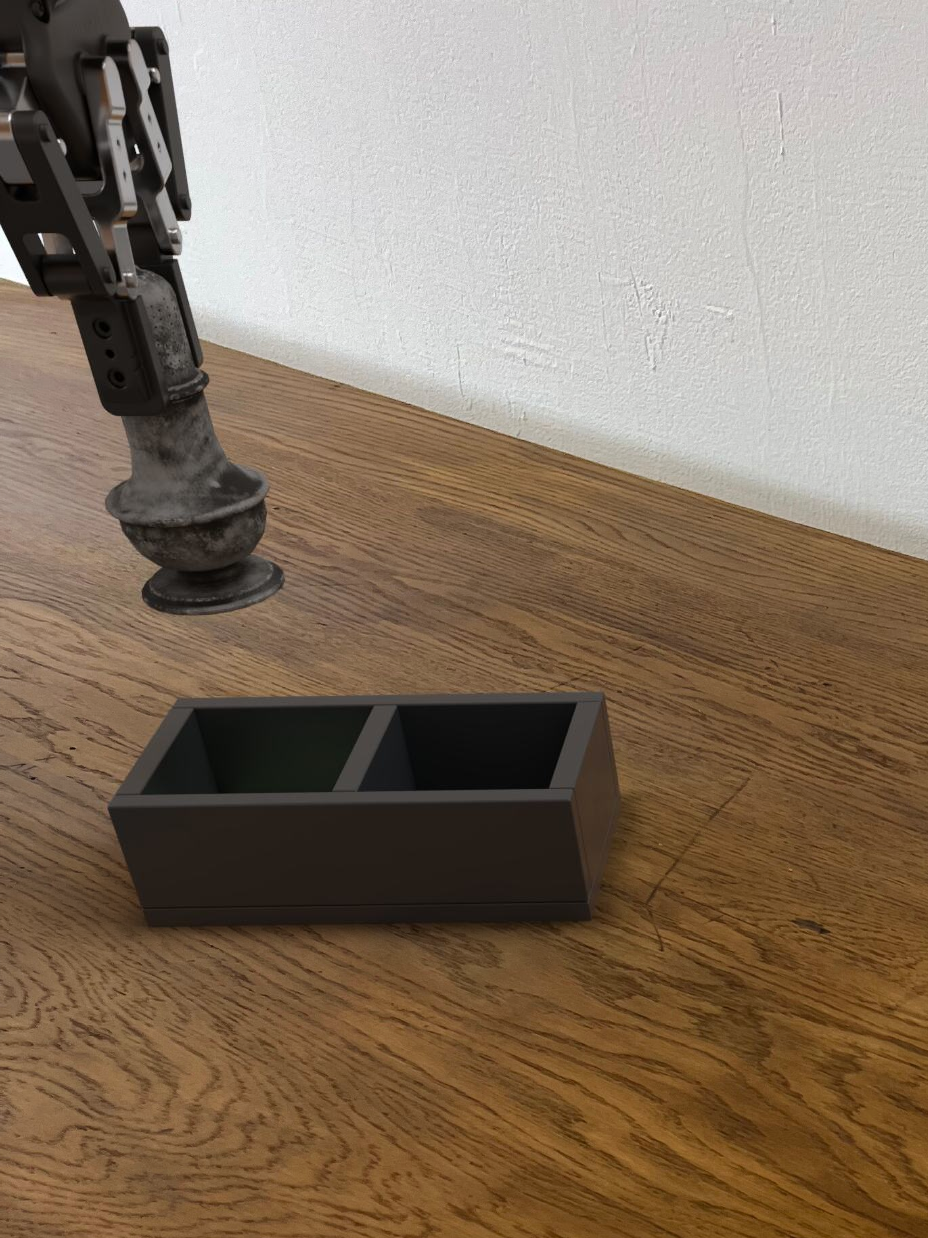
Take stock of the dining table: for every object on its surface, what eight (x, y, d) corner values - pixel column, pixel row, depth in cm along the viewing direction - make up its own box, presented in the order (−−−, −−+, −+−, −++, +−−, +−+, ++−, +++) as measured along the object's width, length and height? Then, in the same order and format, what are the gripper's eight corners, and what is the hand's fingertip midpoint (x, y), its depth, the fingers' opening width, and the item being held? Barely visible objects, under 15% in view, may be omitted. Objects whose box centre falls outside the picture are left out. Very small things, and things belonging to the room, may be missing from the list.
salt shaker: (121, 574, 80) (14, 232, 72) (274, 546, 82) (187, 209, 74) (149, 631, 76) (39, 275, 68) (309, 599, 78) (221, 250, 70)
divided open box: (592, 924, 84) (570, 799, 80) (148, 930, 84) (105, 806, 80) (623, 810, 91) (604, 690, 87) (213, 816, 91) (177, 697, 87)
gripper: (-50, -234, 67) (114, 331, 79) (-241, -174, 57) (-19, 466, 69) (179, -237, 67) (309, 328, 79) (30, -178, 57) (205, 462, 69)
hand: (156, 389), depth 74 cm, fingers closed on salt shaker, 3 cm apart
